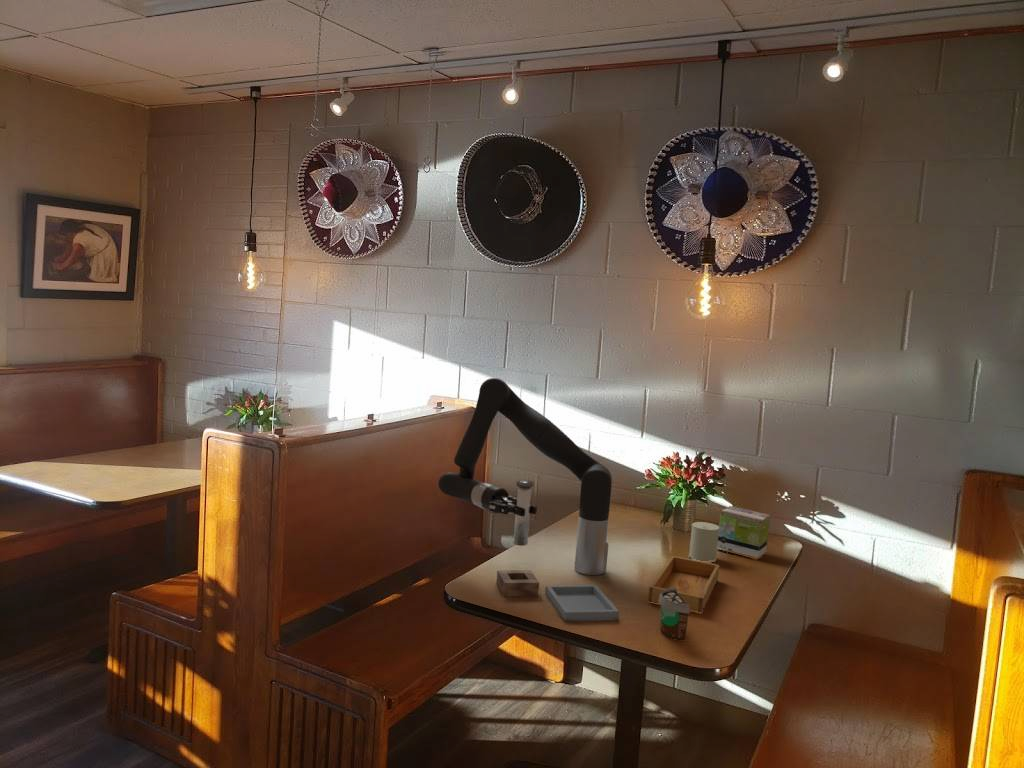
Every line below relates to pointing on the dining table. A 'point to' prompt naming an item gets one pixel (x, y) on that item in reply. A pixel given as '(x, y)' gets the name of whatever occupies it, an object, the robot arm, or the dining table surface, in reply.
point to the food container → (673, 614)
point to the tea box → (743, 531)
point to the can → (704, 541)
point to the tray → (686, 581)
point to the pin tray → (581, 603)
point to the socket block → (517, 583)
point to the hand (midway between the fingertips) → (529, 511)
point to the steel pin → (525, 503)
